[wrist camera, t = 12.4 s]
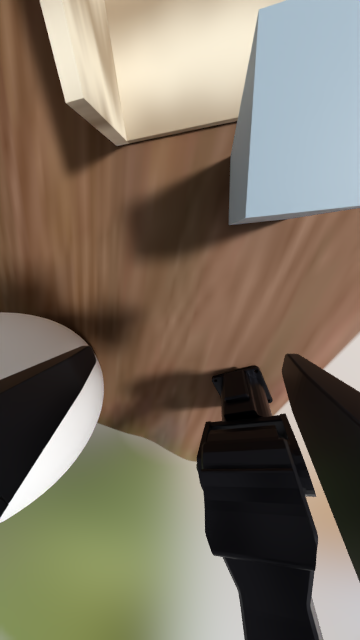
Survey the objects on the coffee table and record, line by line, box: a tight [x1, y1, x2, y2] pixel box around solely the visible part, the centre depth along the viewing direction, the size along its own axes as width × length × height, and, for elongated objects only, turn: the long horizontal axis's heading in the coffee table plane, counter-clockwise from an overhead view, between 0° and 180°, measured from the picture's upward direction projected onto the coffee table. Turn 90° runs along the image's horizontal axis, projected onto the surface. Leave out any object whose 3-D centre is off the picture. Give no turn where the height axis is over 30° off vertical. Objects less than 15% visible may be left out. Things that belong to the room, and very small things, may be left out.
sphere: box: [0, 312, 104, 523], centre depth 19 cm, size 20×20×20 cm
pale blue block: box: [229, 0, 360, 225], centre depth 10 cm, size 5×5×11 cm
